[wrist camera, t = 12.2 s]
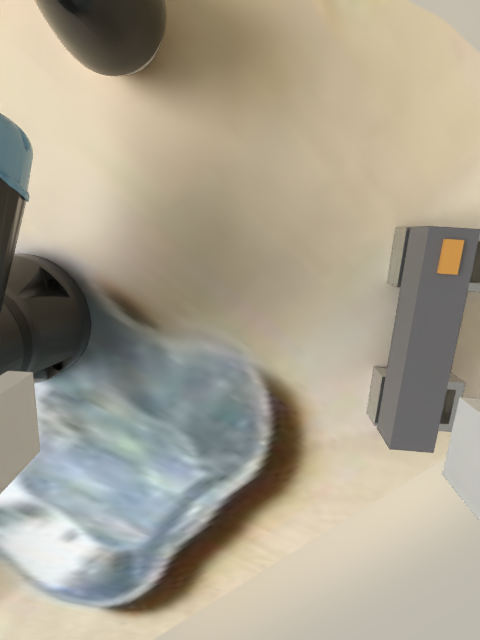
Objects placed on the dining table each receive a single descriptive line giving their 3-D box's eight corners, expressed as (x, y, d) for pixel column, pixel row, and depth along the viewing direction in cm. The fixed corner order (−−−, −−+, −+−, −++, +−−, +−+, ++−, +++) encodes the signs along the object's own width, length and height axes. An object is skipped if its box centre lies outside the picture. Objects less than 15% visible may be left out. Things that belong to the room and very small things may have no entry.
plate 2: (387, 282, 40) (397, 286, 37) (395, 227, 39) (406, 227, 36) (469, 288, 40) (485, 292, 37) (480, 232, 38) (499, 232, 35)
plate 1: (366, 412, 44) (374, 425, 41) (373, 366, 42) (382, 376, 40) (441, 418, 44) (454, 432, 41) (451, 372, 42) (465, 382, 39)
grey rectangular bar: (367, 413, 44) (390, 451, 36) (396, 227, 39) (431, 226, 31) (403, 415, 44) (435, 455, 36) (438, 230, 39) (483, 229, 31)
